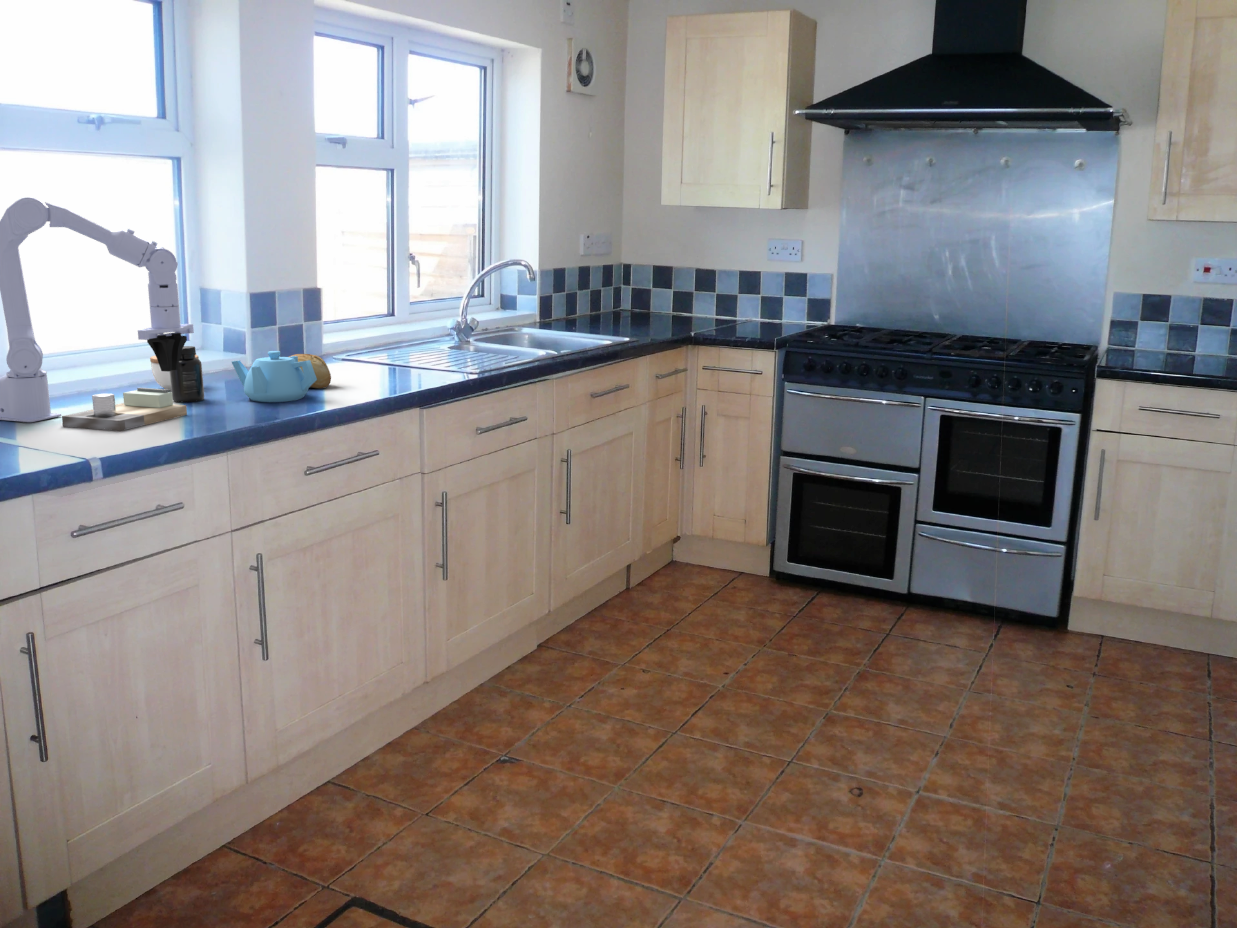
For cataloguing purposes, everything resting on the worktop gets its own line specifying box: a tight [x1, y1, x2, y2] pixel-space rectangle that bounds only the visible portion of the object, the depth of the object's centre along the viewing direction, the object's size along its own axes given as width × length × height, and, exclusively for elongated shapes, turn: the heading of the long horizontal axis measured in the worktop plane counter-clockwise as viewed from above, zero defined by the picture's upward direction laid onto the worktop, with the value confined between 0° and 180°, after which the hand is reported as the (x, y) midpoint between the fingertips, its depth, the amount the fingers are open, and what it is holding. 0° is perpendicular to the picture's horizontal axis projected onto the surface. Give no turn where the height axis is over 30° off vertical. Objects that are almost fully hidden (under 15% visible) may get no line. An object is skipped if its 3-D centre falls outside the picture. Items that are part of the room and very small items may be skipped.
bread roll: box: [288, 353, 332, 389], centre depth 271 cm, size 10×15×8 cm, turn 74°
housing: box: [61, 402, 188, 432], centre depth 227 cm, size 14×19×2 cm
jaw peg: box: [91, 393, 116, 418], centre depth 221 cm, size 4×4×6 cm
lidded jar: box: [149, 354, 200, 391], centre depth 266 cm, size 11×11×9 cm
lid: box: [122, 387, 174, 408], centre depth 232 cm, size 9×4×3 cm, turn 71°
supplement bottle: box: [170, 345, 205, 403], centre depth 250 cm, size 7×7×12 cm
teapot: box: [231, 350, 317, 403], centre depth 254 cm, size 15×15×11 cm
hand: (169, 370), depth 237 cm, fingers closed
